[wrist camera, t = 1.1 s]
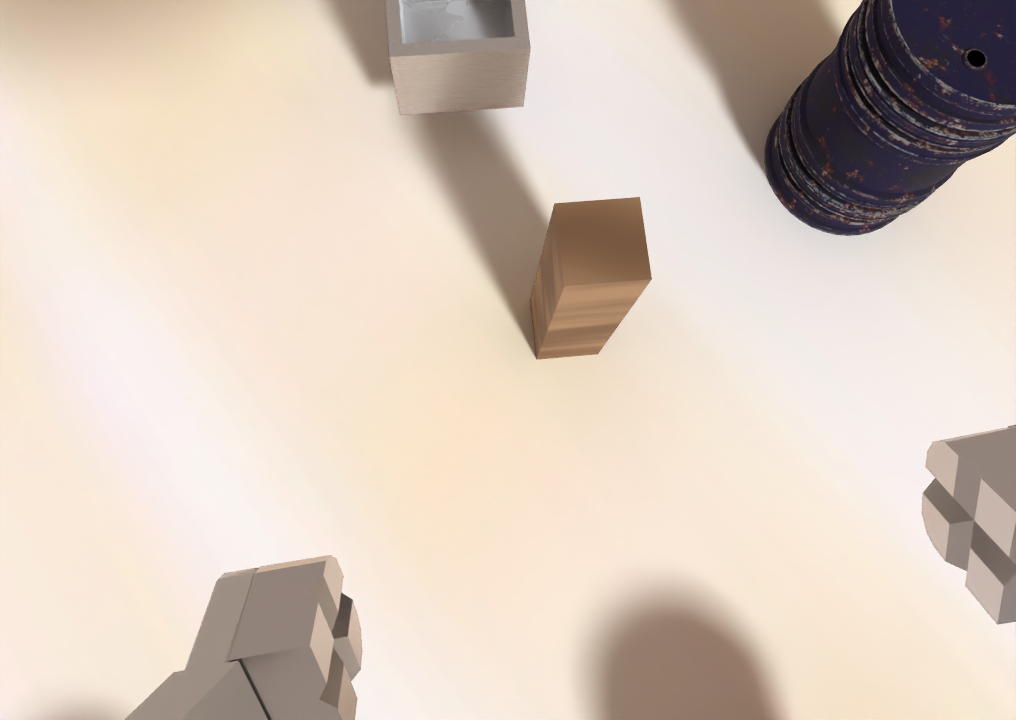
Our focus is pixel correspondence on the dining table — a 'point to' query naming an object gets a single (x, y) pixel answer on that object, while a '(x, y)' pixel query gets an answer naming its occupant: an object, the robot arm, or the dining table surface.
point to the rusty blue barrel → (895, 111)
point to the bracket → (458, 54)
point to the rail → (588, 275)
